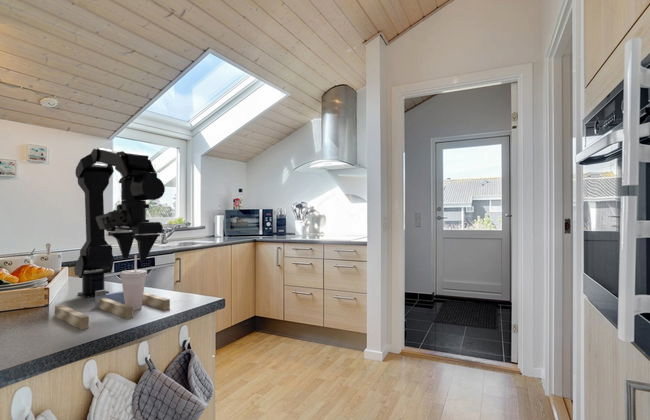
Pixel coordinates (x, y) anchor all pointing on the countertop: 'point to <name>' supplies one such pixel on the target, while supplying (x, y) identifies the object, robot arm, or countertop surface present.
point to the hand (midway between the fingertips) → (133, 259)
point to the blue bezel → (109, 296)
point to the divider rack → (108, 309)
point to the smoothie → (133, 286)
